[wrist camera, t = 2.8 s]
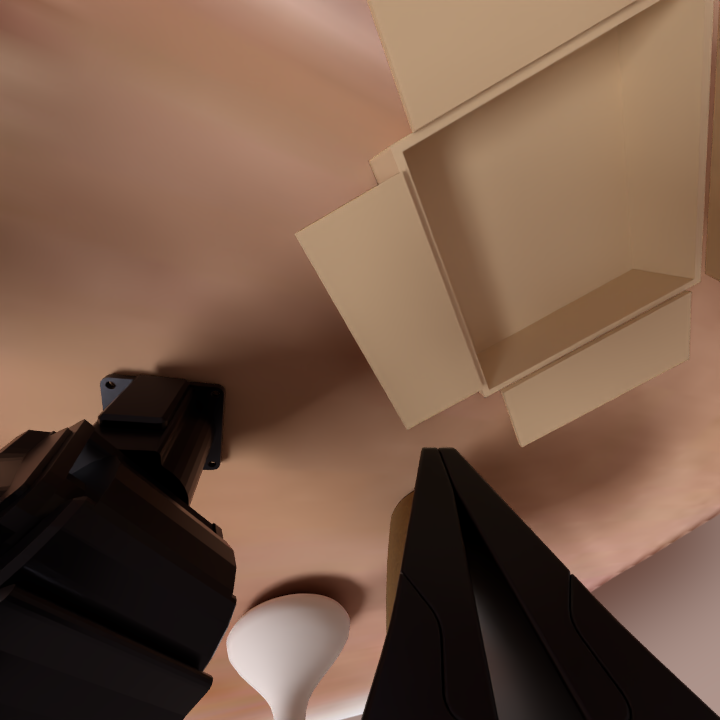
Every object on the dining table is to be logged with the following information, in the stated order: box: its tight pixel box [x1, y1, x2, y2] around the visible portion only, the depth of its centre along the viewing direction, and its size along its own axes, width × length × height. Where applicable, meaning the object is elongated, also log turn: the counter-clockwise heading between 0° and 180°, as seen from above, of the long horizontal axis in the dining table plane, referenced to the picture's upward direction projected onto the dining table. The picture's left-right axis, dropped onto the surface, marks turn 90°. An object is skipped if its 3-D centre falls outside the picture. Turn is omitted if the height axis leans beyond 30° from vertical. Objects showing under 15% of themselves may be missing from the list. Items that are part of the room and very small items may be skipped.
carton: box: [295, 0, 714, 447], centre depth 17 cm, size 19×24×4 cm
